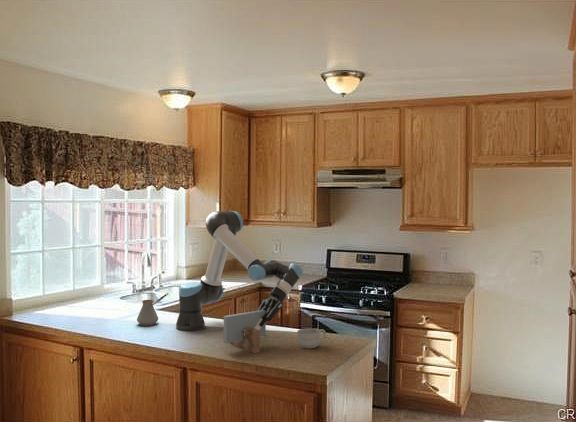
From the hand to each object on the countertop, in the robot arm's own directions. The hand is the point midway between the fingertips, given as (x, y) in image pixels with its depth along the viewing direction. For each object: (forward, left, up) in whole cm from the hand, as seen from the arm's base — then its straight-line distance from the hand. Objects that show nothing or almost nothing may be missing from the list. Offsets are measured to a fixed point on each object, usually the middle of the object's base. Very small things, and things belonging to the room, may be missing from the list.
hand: (253, 330), depth 257 cm
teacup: (+18, +21, -8) cm, 29 cm away
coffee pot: (-72, -15, -8) cm, 74 cm away
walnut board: (0, -5, -8) cm, 9 cm away
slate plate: (0, -5, -3) cm, 6 cm away
